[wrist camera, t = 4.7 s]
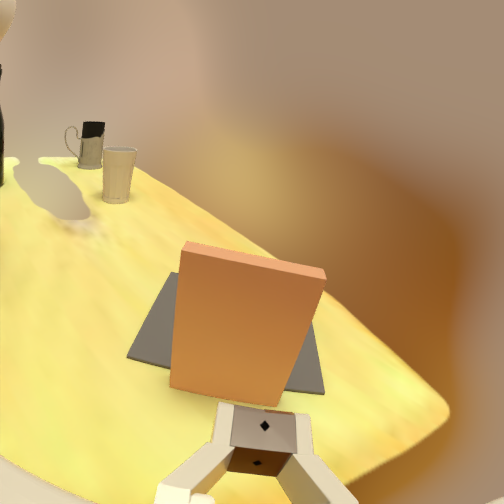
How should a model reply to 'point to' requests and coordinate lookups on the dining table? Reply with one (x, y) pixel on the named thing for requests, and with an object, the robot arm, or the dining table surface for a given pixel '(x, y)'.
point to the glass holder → (90, 145)
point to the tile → (240, 323)
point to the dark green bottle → (1, 143)
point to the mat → (161, 336)
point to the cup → (117, 173)
